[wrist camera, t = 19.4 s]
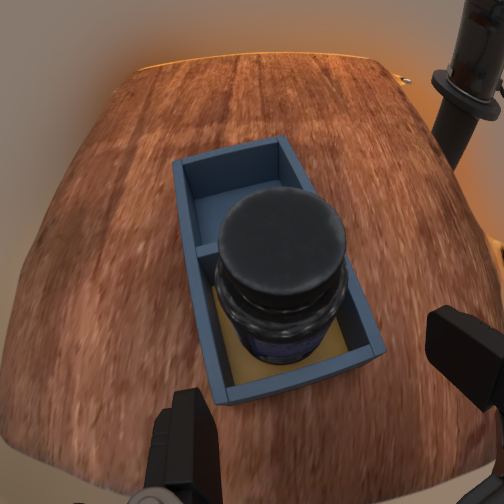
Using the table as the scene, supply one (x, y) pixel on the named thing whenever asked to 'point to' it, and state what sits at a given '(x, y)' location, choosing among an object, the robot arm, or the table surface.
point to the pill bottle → (281, 272)
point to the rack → (204, 264)
